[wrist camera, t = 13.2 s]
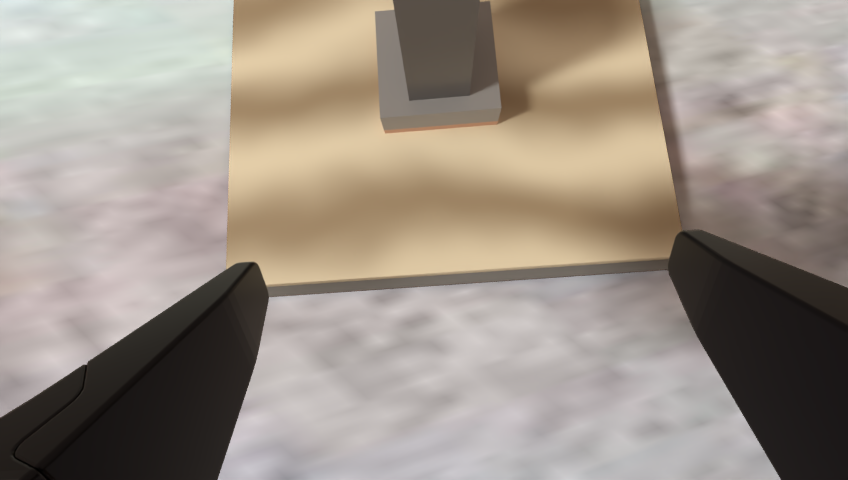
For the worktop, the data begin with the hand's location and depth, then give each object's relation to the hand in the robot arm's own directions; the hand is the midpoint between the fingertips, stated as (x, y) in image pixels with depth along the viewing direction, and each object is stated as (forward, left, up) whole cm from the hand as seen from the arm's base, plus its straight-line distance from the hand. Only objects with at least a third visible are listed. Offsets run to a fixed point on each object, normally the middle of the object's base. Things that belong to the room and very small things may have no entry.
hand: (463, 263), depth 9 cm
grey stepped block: (+8, -8, -12) cm, 17 cm away
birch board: (+8, -8, -14) cm, 17 cm away
